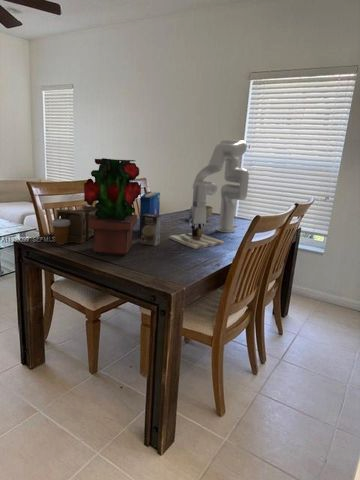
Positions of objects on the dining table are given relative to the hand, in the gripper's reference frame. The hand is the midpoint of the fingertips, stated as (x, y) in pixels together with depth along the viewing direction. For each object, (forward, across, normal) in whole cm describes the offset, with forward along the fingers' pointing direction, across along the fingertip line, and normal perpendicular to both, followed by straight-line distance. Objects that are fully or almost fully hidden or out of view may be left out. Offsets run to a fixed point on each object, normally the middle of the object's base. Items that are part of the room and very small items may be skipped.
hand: (196, 235), depth 194 cm
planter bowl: (+4, -44, -45) cm, 63 cm away
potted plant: (+4, +52, -3) cm, 52 cm away
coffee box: (+4, +27, -8) cm, 28 cm away
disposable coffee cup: (+4, +69, -29) cm, 75 cm away
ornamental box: (+4, +50, -39) cm, 64 cm away
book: (+4, +15, -28) cm, 32 cm away
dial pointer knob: (+2, 0, -3) cm, 4 cm away
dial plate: (+4, 0, 0) cm, 4 cm away
